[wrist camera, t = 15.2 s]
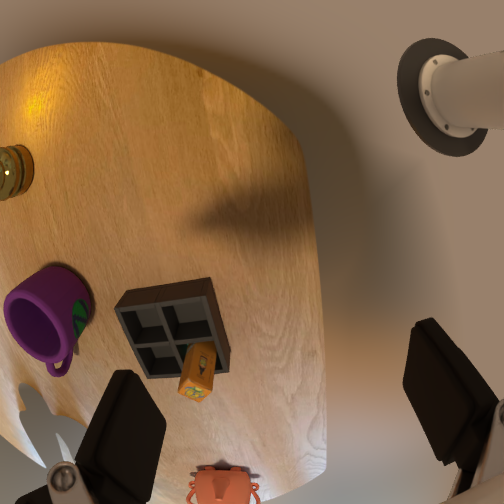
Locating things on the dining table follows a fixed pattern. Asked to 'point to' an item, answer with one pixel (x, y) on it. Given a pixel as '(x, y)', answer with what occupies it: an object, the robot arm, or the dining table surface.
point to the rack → (172, 325)
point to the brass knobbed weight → (14, 171)
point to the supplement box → (198, 370)
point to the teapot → (222, 487)
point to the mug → (48, 316)
